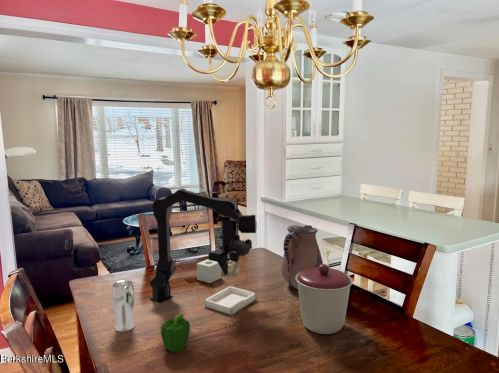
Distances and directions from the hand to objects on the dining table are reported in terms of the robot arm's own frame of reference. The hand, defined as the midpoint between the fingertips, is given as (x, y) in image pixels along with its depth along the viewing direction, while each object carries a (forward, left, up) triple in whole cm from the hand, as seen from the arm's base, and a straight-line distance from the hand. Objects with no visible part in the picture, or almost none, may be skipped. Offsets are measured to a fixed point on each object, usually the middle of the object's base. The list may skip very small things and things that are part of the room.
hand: (229, 272), depth 138 cm
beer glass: (-35, +17, -11) cm, 41 cm away
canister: (+2, -37, -11) cm, 39 cm away
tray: (-1, -1, -11) cm, 11 cm away
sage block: (+13, +22, -11) cm, 28 cm away
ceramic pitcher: (+27, -16, -11) cm, 33 cm away
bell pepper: (-34, -6, -11) cm, 37 cm away
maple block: (0, 0, -1) cm, 1 cm away
